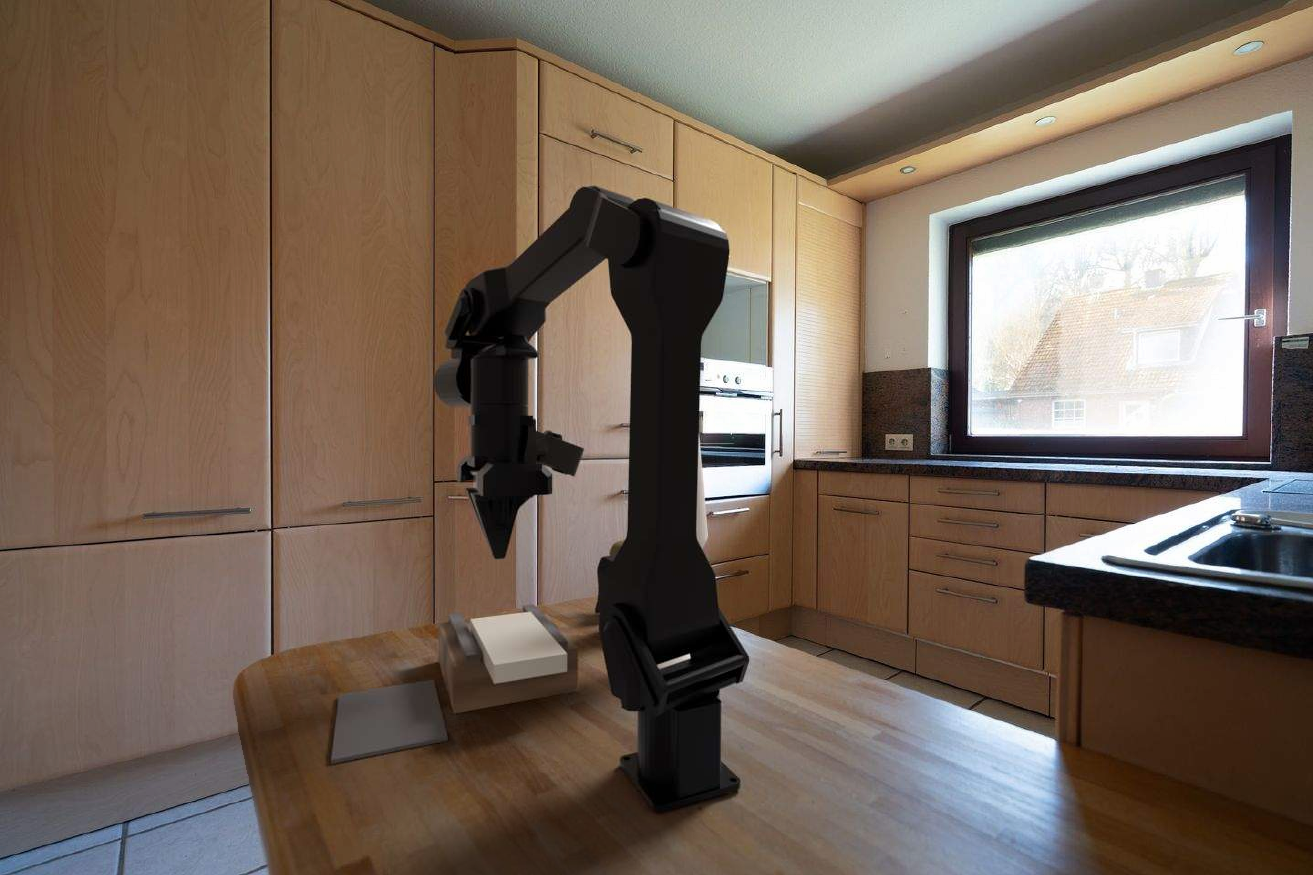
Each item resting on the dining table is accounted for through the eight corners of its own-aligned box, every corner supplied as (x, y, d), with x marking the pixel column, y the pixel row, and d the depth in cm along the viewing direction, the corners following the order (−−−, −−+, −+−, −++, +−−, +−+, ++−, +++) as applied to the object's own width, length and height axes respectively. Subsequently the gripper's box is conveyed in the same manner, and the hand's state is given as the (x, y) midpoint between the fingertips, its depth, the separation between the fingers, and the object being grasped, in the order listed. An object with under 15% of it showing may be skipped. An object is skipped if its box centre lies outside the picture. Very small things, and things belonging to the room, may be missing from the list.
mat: (447, 740, 47) (447, 736, 47) (331, 763, 44) (331, 759, 44) (433, 682, 58) (433, 679, 58) (339, 697, 55) (339, 694, 55)
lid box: (577, 690, 56) (578, 639, 56) (453, 713, 52) (454, 657, 52) (542, 645, 68) (542, 603, 68) (438, 661, 63) (438, 615, 63)
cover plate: (567, 671, 51) (567, 653, 51) (494, 683, 48) (494, 664, 48) (530, 626, 63) (530, 611, 63) (470, 634, 60) (470, 619, 60)
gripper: (606, 404, 57) (605, 570, 57) (552, 409, 74) (551, 537, 74) (484, 401, 52) (483, 582, 52) (456, 407, 69) (456, 544, 69)
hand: (499, 558), depth 62 cm, fingers closed
